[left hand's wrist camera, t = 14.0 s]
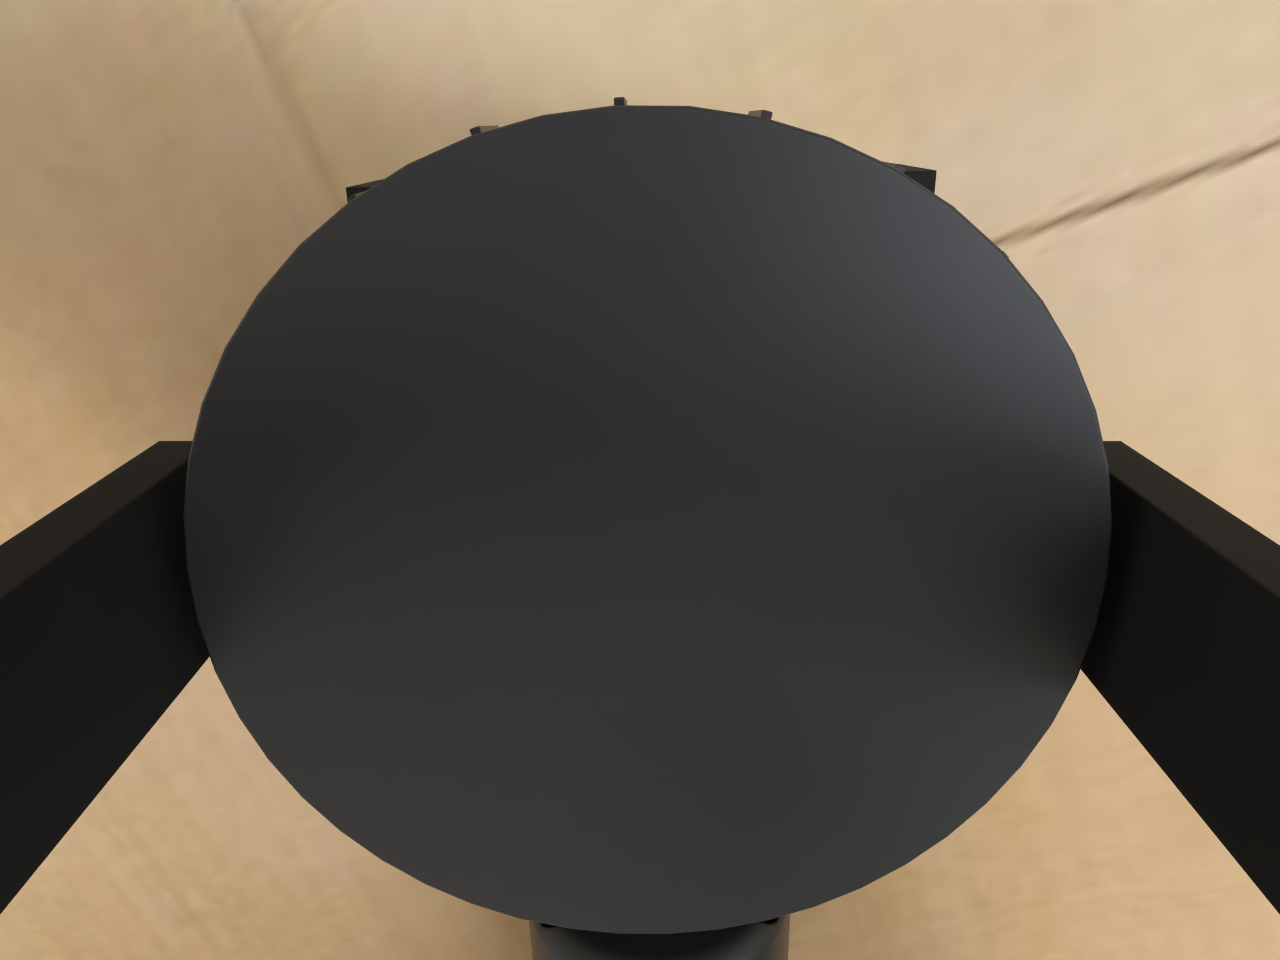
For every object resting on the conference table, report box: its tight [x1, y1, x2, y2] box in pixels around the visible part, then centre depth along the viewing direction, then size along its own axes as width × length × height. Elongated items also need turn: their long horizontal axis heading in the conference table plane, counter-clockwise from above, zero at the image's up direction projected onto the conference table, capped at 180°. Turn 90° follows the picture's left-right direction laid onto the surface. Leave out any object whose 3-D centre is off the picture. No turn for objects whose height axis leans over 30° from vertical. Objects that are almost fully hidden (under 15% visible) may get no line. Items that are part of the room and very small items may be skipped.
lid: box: [183, 97, 1112, 934], centre depth 12 cm, size 11×11×2 cm
